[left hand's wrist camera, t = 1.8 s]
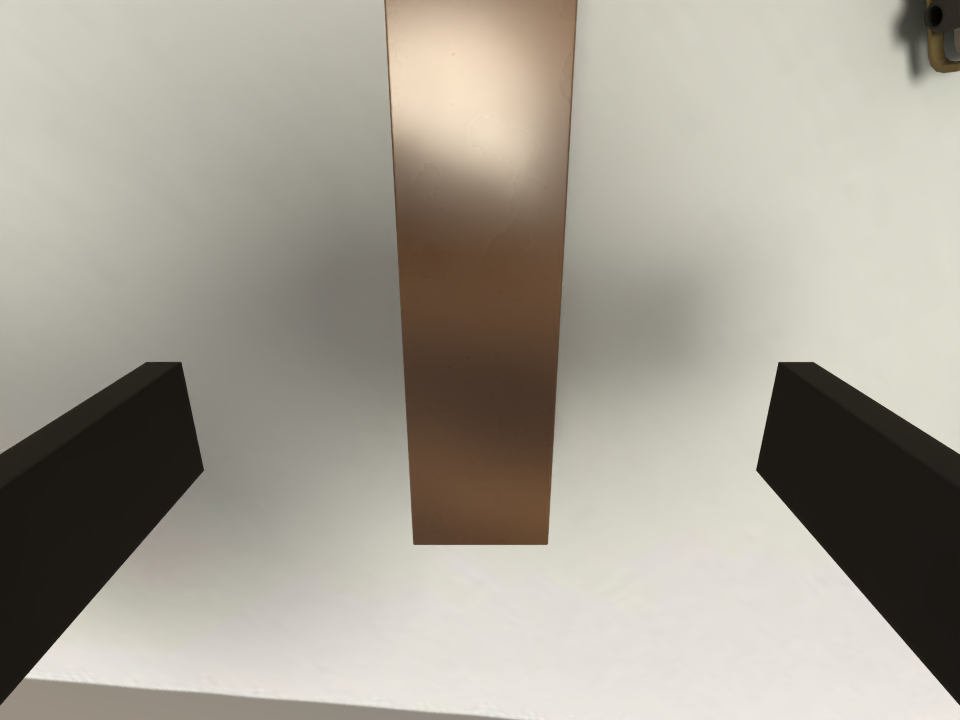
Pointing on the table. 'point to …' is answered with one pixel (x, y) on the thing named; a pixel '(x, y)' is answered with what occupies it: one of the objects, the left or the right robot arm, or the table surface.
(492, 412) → the bar
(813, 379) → the left robot arm
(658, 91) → the table surface
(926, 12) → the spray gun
